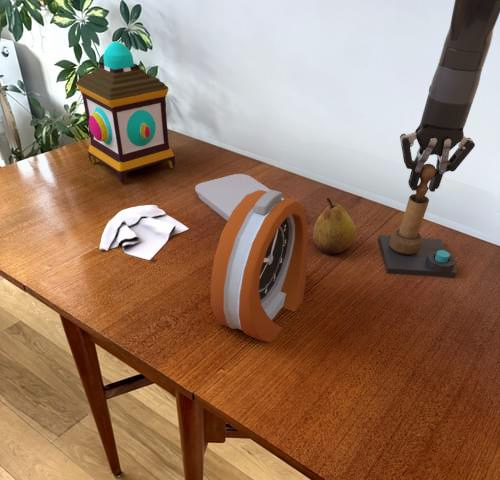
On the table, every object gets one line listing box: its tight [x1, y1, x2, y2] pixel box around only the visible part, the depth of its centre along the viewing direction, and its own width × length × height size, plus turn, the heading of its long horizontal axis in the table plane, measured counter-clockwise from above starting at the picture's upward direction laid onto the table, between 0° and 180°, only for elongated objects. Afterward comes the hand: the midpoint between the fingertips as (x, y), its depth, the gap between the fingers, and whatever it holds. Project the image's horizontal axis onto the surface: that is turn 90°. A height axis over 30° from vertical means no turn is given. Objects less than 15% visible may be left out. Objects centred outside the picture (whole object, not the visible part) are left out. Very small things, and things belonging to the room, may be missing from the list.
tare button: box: [435, 250, 451, 263], centre depth 95 cm, size 3×3×2 cm
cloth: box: [99, 204, 190, 261], centre depth 103 cm, size 20×22×2 cm
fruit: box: [312, 197, 356, 255], centre depth 98 cm, size 9×9×12 cm
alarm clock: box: [210, 189, 309, 343], centre depth 78 cm, size 22×10×23 cm, turn 151°
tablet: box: [194, 173, 285, 222], centre depth 114 cm, size 16×26×2 cm, turn 35°
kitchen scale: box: [377, 234, 457, 279], centre depth 100 cm, size 14×13×3 cm
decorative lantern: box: [75, 40, 176, 184], centre depth 119 cm, size 20×20×30 cm
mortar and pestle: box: [389, 163, 436, 254], centre depth 94 cm, size 7×6×18 cm
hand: (422, 189), depth 91 cm, fingers closed on mortar and pestle, 3 cm apart
